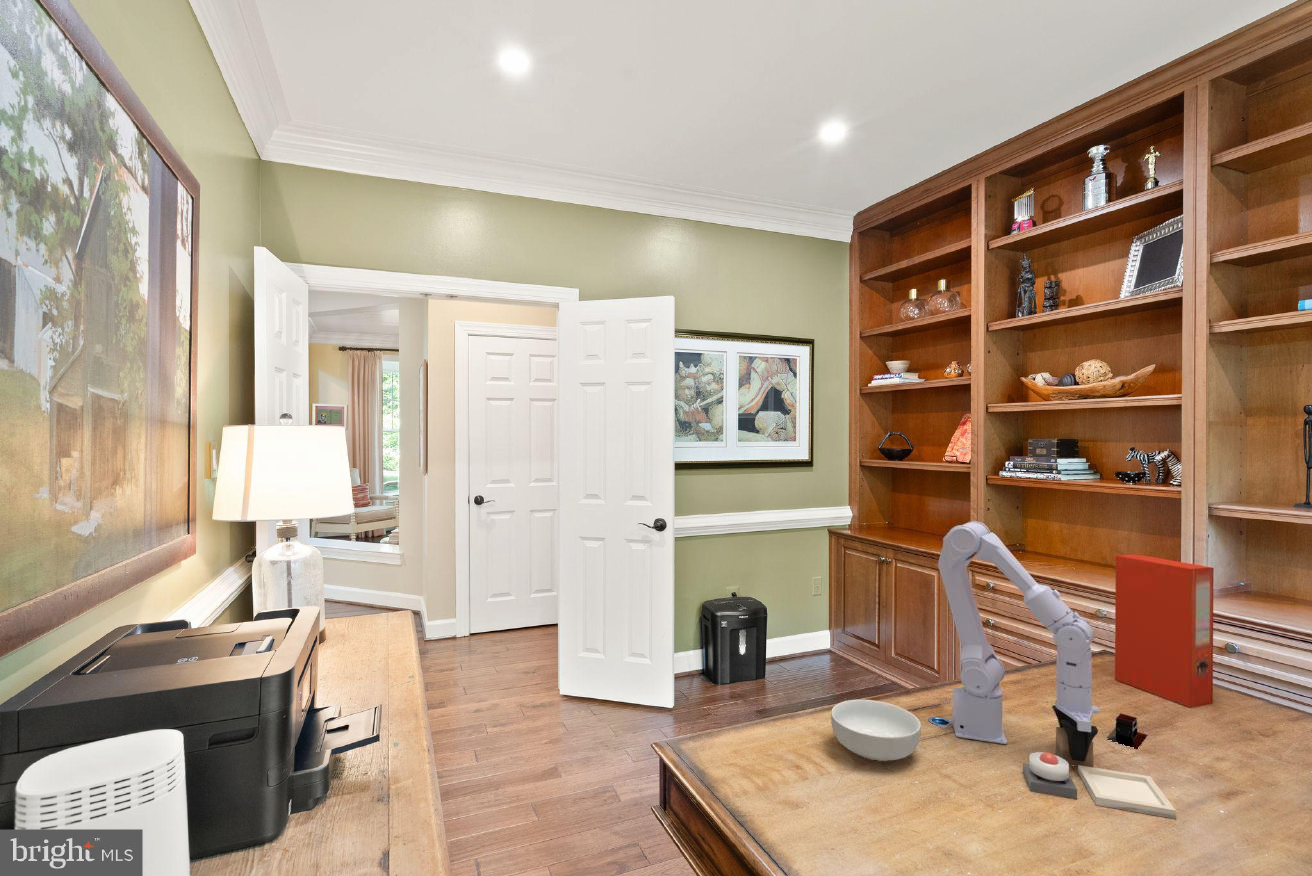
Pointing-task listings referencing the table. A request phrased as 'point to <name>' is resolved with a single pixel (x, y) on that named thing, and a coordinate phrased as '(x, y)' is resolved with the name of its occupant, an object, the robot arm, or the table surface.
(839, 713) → the cereal bowl
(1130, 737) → the black tapered mount
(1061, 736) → the die
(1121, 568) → the file binder
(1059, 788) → the grey button base
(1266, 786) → the table surface
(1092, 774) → the die pad
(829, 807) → the table surface
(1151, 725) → the table surface
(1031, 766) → the dome
